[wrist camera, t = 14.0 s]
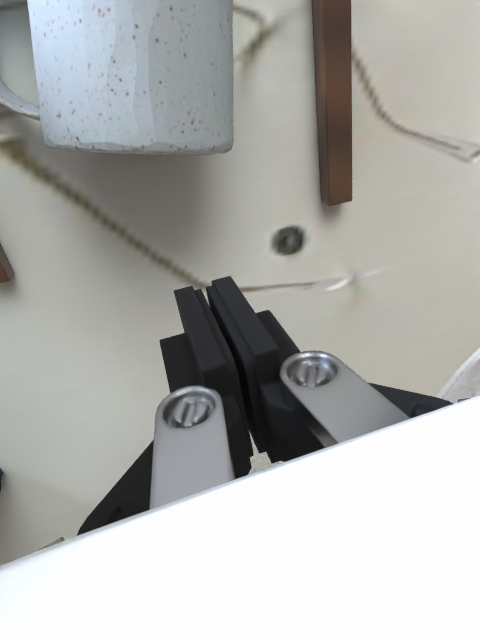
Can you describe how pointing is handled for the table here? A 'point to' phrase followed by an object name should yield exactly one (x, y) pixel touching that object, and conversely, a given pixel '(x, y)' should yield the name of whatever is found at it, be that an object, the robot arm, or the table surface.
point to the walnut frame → (320, 105)
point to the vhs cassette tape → (0, 478)
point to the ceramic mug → (132, 75)
